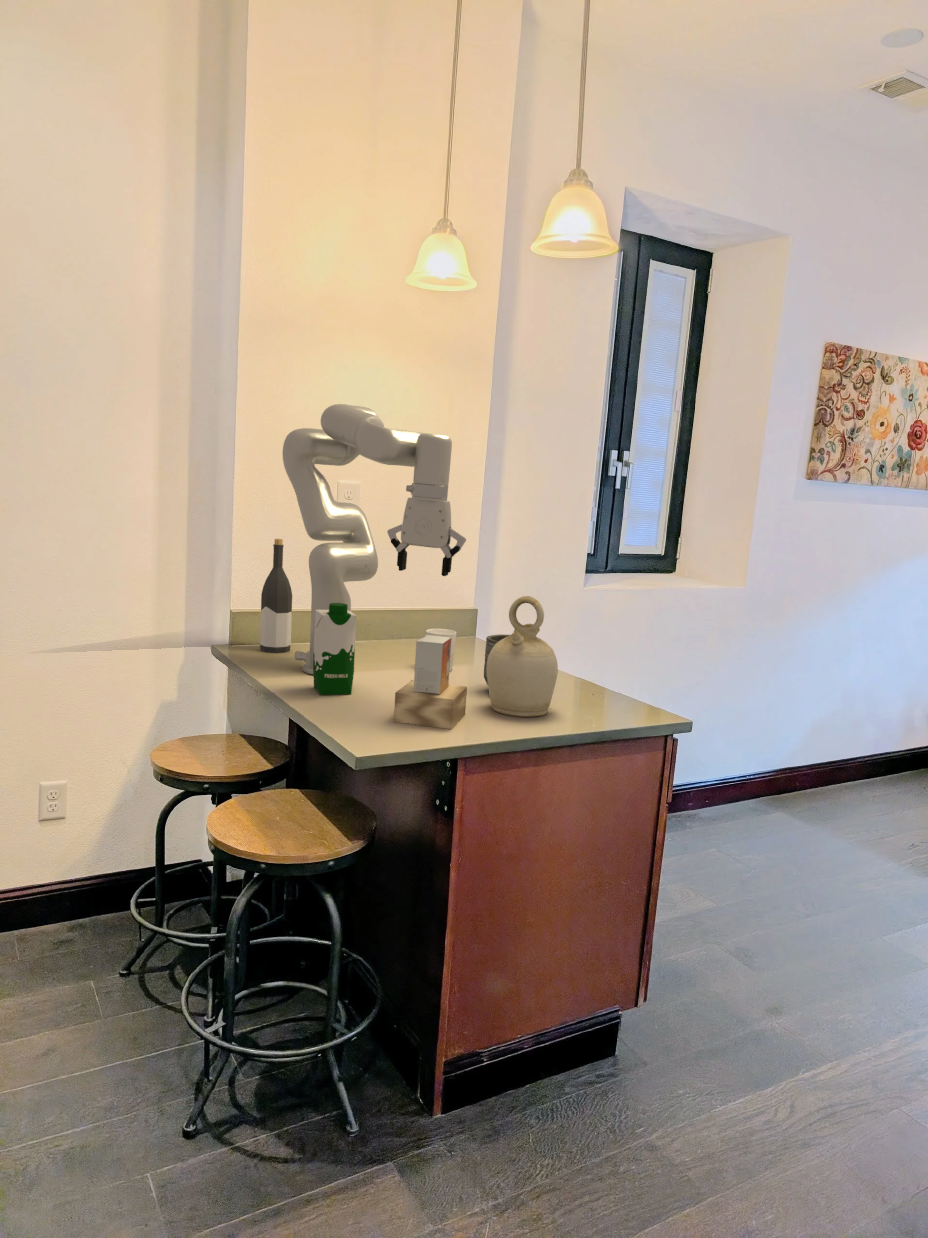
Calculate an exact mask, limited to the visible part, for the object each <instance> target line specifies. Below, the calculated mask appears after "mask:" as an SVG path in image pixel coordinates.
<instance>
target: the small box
mask: <svg viewBox="0 0 928 1238" xmlns="http://www.w3.org/2000/svg"><path fill="white" fill-rule="evenodd" d="M415 644H416V645H415V659H414V661H415V662H414V674H413V675H414V676H413V677H414V678H413V680H414V692H423V693H433V694H440V693H441V692H442V691H443V690H445V689H446V688H447V687H448V684H449V680H450V671H449V668H450V653H451V637H441V636H432V635H426V634H425V636H424V637H421V638H420V639H418V640H416V643H415Z"/></svg>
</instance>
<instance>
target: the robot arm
mask: <svg viewBox="0 0 928 1238" xmlns="http://www.w3.org/2000/svg"><path fill="white" fill-rule="evenodd" d="M320 426H321V429H319V428H312V427H311V428H307V427H306V428H305V427H303V428H297V429H294V430H291V432H289V433H288V434H287V435H286V437H285V438H284V442H283V446H282V462H283V467H284V470H285V473H286V475H287V477H288V480H289V481H290V483H291V486H292V488H293V490H294V493H295V496H296V501H297V503H298V508H299V510H300V511H299V512H300V515H301V519H302V521H303V522H302V523H303V525H304V529H305V531H306V534H307V536H308V537H309V538H310V539H312V540H315V541H321V542H323V541H324V543H320V544H318V545H316V546H315V547H314V548H312V550H311V551H310V553H309V555H308V568H309V575H310V576H309V577H310V583H311V586H310V587H311V606H310V607H311V608H310V609H311V610H310V611H311V612H310V635H309V636H310V637H309V650H308V651H306V652H304V651H301V650H296V651H295V652H294V659H295V661H303V662H304V664H303V665H302V671H303V672H304V673H306V674H309V675H313V653H314V630H315V627H314V625H315V610H329V604H331V603H343V604H347V605H348V609H347V610H349V611H351V609H352V600H351V597H350V593H349V591H348V589H347V587H346V585H345V583H347V582H361V581H362V582H364V581H369V580H371V579H372V578H373V577H374V576H375V575H376V573H377V571H378V568H379V567H378V565H379V558H378V554H377V553H378V552H377V549H376V546H375V543H374V539H373V536H372V532H371V529H370V525H369V521H368V519H367V516H366V514H365V512H364V510H363V509H362V508H360V506H358V505H357V504H355V503H351V502H338V501H336V500H335V499H334V496H333V494H332V492H331V491H332V490H331V486H330V484H329V482H328V481H327V479H326V477H325V476H324V475H323V474H322V472H321V471H320V470H319V469H318V468H317V467H316V465H324V466H337V467H339V466H342V467H343V466H346V465H348V464H349V465H350V463H352V462H353V461H354V460H356V459H357V458H358V457H359V456H362V457H364V458H365V459H368V460H370V461H373V462H376V463H379V464H382V465H387V466H401V467H402V466H403V467H413V468H414V469H413V479H412V481H413V482H411V483H412V484H410V485H409V484H407V485H406V488H405V489H406V490H405V491H406V492H409V493H410V494H411V497H407V500H406V503H405V508H404V512H403V517H402V523H401V524H400V525H397V526H394V527H392V528H389V529H387V531H386V532H387V535H388V537H389V540H390V543H391V544H392V546H393V547H394V548H395V550H396V552H397V559H396V566H397V567H398V571H399V572H400V571H401V572H402V571H405V570H406V569H407V559H408V552H407V551H406V549H407V548H408V547H409V546H413V547H414V546H416V547H424V548H432V549H440V550H441V551H442V552H443V554H444V557H443V558H442V565H441V576H442V577H446V576H449V573H451V571H452V564H453V563H452V561H453V557H454V556H455V555H456V554H458V553H459V552H460V551H461V550H462V548H463V546H464V545H465V544H466V541H467V538H466V537H465V536H463V535H462V534H460V533H459V532H458V531H456V530H454V529H453V528H452V508H451V502H450V501H448V495H449V493H448V492H449V482H450V472H451V471H450V470H451V460H452V459H451V458H452V448H453V441H452V438H451V437H450V436H448V435H445V434H439V433H428V432H427V433H425V432H420V431H411V430H403V429H395V428H388V427H385V424H384V422H383V420H382V419H381V418H380V417H379V415H378V414H377V412H376V411H375V410H373V409H372V408H370V407H366V406H360V405H358V406H357V405H350V404H345V403H344V404H343V403H338V404H337V403H336V404H331V405H330V406H328V407H327V408H325V409H324V411H323V412H322V414H321V417H320ZM397 533H400V540H401V541H400V540H399V538H398V536H397ZM451 538H453V539H454V540H455V541H456V544H455V545H454V546H453V547H452V548H451V546H450V544H451ZM332 541H333V542H332Z"/></svg>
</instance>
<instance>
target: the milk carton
mask: <svg viewBox="0 0 928 1238" xmlns="http://www.w3.org/2000/svg"><path fill="white" fill-rule="evenodd" d="M347 609H348V605H347V604H343V603H331V604H329V610H315V625H314V627H315V630H314V653H313V674H312V675H313V688H314V689H315V690H316V692H317V693H318V694H319V695H320V696H330V695H331V696H334V695H335V696H336V695H352V692H353V691H352V690H353V681H354V674H355V673H354V672H355V652H356V634H357V633H356V632H357V631H356V628H357V614H355V613H354V612H353V611H349V610H347Z"/></svg>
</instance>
